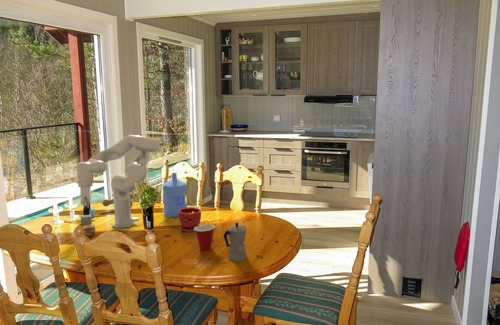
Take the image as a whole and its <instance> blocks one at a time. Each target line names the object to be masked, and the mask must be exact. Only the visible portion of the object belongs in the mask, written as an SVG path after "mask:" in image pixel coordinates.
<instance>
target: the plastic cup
mask: <svg viewBox="0 0 500 325" xmlns="http://www.w3.org/2000/svg"><path fill="white" fill-rule="evenodd" d="M215 227H216V226H215V225H214V224H201V225H200V224H199V226H197V227H195V228H194V230H195V231H194V232H195V234H196V237H197V242H198V247H199V250H200V251H210V250H211V249H212V244H213V237H214V232H215Z"/></svg>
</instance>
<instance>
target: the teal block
mask: <svg viewBox="0 0 500 325" xmlns="http://www.w3.org/2000/svg"><path fill="white" fill-rule="evenodd" d="M95 209H96V208H95V207H90V210H89V212H90V214H91V217H92V218H95V217H96V216H95V215H96V211H95Z"/></svg>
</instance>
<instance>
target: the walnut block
mask: <svg viewBox="0 0 500 325" xmlns="http://www.w3.org/2000/svg"><path fill="white" fill-rule="evenodd" d="M83 228H84V229H83V232H84V231H85V234H86V235H88V236H87V237H90V236H91V235H92V236H96V224H86V225H83Z"/></svg>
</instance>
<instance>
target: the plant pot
mask: <svg viewBox="0 0 500 325" xmlns="http://www.w3.org/2000/svg"><path fill="white" fill-rule="evenodd" d="M201 217H202V210H201V209H200V208H198V207H197V208H196V207H187V208H184V209H181V210H179V217H178V219H179V224H180V226H179V228H180V230H181V231H183V232H186V233H187V232H188V233H191V232H196V231H195V230H194V228H195V227H197V226H200V223H201Z"/></svg>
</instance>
